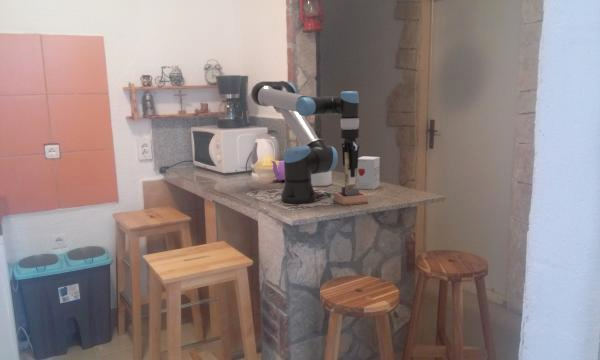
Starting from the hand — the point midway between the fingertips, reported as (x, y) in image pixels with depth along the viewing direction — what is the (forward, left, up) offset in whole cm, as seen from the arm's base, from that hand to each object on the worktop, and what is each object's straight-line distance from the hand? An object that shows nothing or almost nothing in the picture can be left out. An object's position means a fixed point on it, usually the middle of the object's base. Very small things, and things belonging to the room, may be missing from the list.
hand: (350, 183), depth 206 cm
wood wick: (0, 0, -5) cm, 5 cm away
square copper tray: (0, 0, -8) cm, 8 cm away
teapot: (-12, +61, -8) cm, 62 cm away
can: (+1, +44, -8) cm, 44 cm away
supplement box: (+20, +26, -8) cm, 34 cm away
